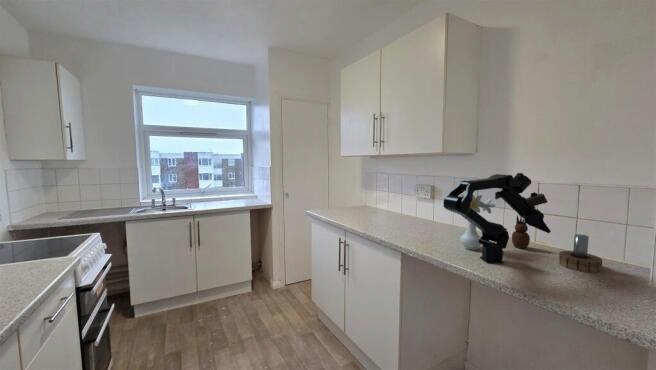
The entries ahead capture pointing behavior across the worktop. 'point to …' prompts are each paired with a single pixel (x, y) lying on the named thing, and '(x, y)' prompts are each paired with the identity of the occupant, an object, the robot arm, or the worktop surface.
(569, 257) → the segmented wooden ring
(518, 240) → the wooden figurine
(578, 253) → the tall steel post
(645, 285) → the worktop surface
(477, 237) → the flower vase
